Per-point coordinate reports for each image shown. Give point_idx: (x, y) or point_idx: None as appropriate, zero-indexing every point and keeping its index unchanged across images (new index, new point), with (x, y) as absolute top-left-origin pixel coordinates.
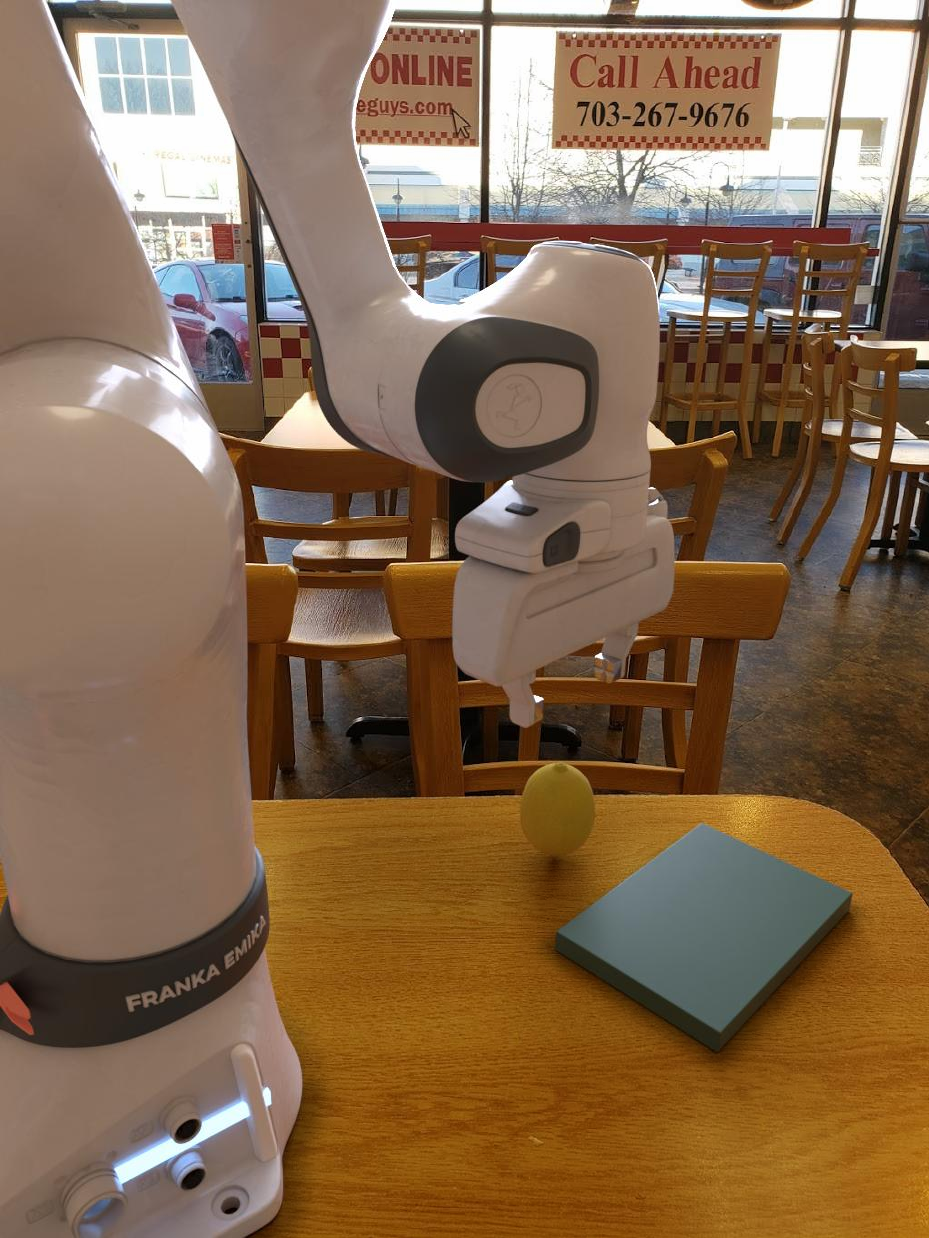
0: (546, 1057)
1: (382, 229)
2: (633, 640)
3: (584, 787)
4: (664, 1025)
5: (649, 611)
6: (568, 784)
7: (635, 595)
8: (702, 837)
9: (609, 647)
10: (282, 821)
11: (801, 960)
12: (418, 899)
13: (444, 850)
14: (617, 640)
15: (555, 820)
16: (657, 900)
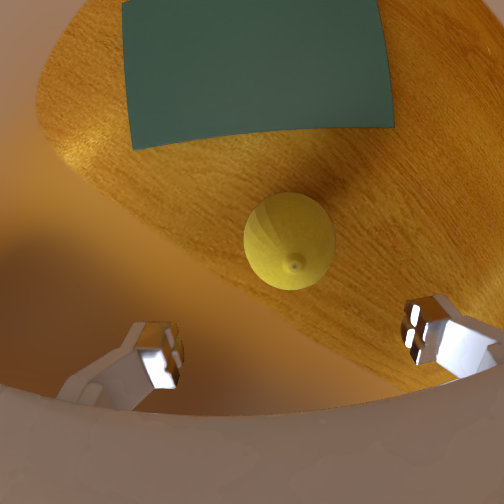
0: (457, 71)
1: None
2: (86, 369)
3: (281, 221)
4: None
5: (22, 403)
6: (306, 233)
7: (51, 483)
8: (153, 130)
9: (137, 388)
10: (402, 375)
11: None
12: (416, 252)
13: (355, 289)
14: (117, 391)
15: (327, 215)
16: (283, 86)
